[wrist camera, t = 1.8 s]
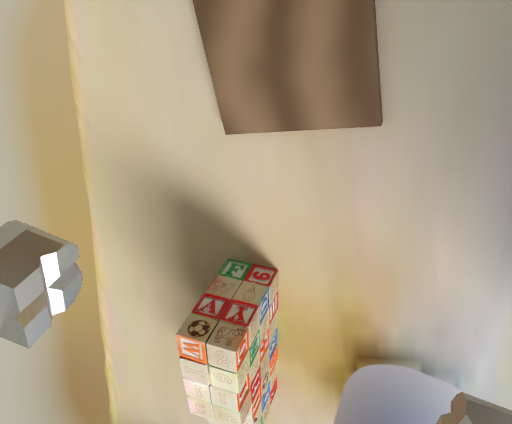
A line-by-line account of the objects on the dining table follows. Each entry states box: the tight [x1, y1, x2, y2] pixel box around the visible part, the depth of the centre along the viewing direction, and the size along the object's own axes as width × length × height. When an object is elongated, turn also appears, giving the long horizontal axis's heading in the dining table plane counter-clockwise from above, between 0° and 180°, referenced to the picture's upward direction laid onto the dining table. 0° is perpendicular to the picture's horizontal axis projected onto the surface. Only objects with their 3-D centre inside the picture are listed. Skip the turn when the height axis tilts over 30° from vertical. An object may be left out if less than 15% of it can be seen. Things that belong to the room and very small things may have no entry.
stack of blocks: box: [176, 259, 278, 424], centre depth 52 cm, size 21×6×12 cm, turn 3°
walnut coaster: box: [193, 0, 383, 135], centre depth 36 cm, size 14×14×1 cm
